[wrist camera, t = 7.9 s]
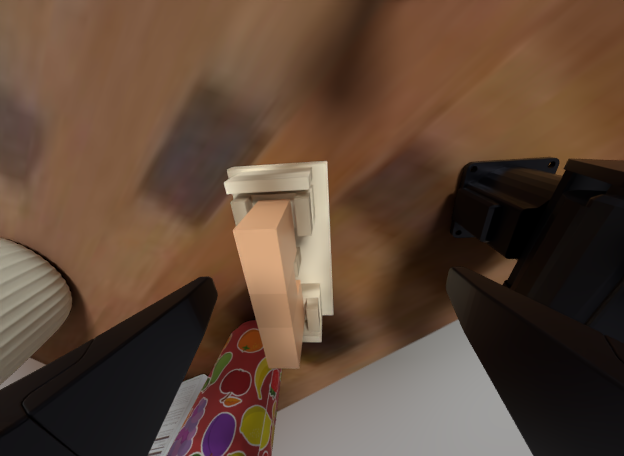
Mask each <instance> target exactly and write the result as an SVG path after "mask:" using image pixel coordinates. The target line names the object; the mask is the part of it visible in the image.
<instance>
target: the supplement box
mask: <svg viewBox="0 0 624 456" xmlns="http://www.w3.org/2000/svg"><path fill="white" fill-rule="evenodd" d="M207 378H208V376H206V375H205V374H202V375H199V376H197V377H194V378H191V379H189V380H186V381H184V382H182V384H181V386H180V388H179V390H178V392H177V394H176V396H175V399H174V401H173V403H172V405H171V407H170V409H169V411H168V414H167V416H166V418H165V420H164V422H163V424H162V426H161V429H160V431H159V433H158V435H157V437H156V439H155V441H154V443H153V446H152V448H151V450H150V452H149V454H148V456H167V454H168V452H169V450H170V448H171V446H172V444H173V442H174V440H175V439H176V437H177V435H178V433H179V431H180V429H181V427H182V425H183V423H184V421H185V420H186V418H187V416H188V414H189V412H190V410H191V408H192V406H193V404H194V403H195V401H196V399H197V397H198V395H199V393H200V391H201V389H202V387H203V386H204V384H205V382H206V380H207Z"/></svg>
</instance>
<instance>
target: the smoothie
mask: <svg viewBox="0 0 624 456" xmlns="http://www.w3.org/2000/svg"><path fill="white" fill-rule="evenodd" d="M281 373H282V368H269V367H268V364H267V360H266V356H265V352H264V348H263V344H262V341H261V337H260V333H259V329H258V325H257V322H256V320H251V321H247V322H244V323H243V324H241V325H240V326H239V328H237V329H236V330H234V331H233V332H232V333H231V335H230V336H229V338H228V340H227V342H226V344H225V346H224V348H223V350H222V352H221V353H220V355H219V357H218V359H217V361H216V363H215V365H214V367H213V369H212V370H211V372H210V374H209V376H208V378H207V380H206V382H205V384H204V386H203V387H202V389H201V391H200V393H199V395H198V397H197V399H196V401H195V403H194V404H193V406H192V408H191V410H190V412H189V414H188V416H187V418H186V420H185V421H184V423H183V425H182V427H181V429H180V431H179V433H178V435H177V437H176V439H175V440H174V442H173V444H172V446H171V448H170V450H169V452H168V454H167V456H271V455H272V447H273V438H274V430H275V421H276V414H277V406H278V397H279V389H280V381H281Z"/></svg>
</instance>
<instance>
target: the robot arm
mask: <svg viewBox="0 0 624 456" xmlns="http://www.w3.org/2000/svg"><path fill="white" fill-rule="evenodd" d="M550 162H551V164H550V165H549V166H548V164H549V163H550ZM473 166H474V170H473V171H470V169H471V168H472V167H473ZM558 166H559V159H557V158H552V157H543V158H527V159H510V160H494V161H478V162H470V163H468V164H467V165H466V166H465V168H464V172H463V176H462V181H461V185H460V189H459V190H458V191H457V196H456V200H455V205H454V209H453V214H452V219H453V221H452V225H451V230H450V233H451V235H452V236H454V237H455V238H465V237H476V238H477V239H478V240H480V241H481V242H486V243H487V244H488V245H490V246H491V247H492V248H494V249H495V250H496V251H497V252H499V253H500V254H501V255H503V256H504V257H505V258H507V259H516V260H517V263H516V265H515V267H514V269H513V271H512V272H511V274H510V276H509V278H508V280H505V281H504V283H503V285H501V284H499V283H497V282H494V281H492V280H490V279H488V278H486V277H484V276H482V275H480V274H478V273H476V272H474V271H472V270H469V269H467V268H465V267H451V268H450V269H449V272H448V277H447V282H446V291H447V294H448V296H449V298H450V301H451V303H452V305H453V308H454V310H455V312H456V315H457V317H458V319H459V321H460V324H461V326H462V328H463V330H464V333H465V334H466V336H467V338H468V340H469V342H470V344H471V345H472V347H473V349H474V351H475V353H476V354H477V356H478V358H479V360H480V362H481V363H482V365H483V367H484V369H485V370H486V372H487V374H488V376H489V377H490V379H491V381H492V383H493V385H494V386H495V388H496V390H497V392H498V394H499V395H500V397H501V399H502V401H503V403H504V404H505V406H506V408H507V410H508V411H509V413H510V415H511V417H512V419H513V420H514V422H515V424H516V425H517V427H518V429H519V431H520V433H521V435H522V436H523V438H524V440H525V442H526V444H527V445H528V447H529V449H530V451H531V452H532V454H533V456H624V161H620V160H593V159H568V161H567V163H566V165H565V167H564V169H565V170H566V171H565V173H564V174H563V176H561V175H556V174H555V173H556V171H557V168H558ZM458 230H459V232H458V233H456V231H458ZM217 296H218V293H217V290H216V287H215V284H214V282H213V279H212V278H211V277H199V278H197V279H196V280H194V281H192V282H190V283H189V284H187V285H185V286H183V287H182V288H180V289H178V290H177V291H175V292H173V293H171V294H170V295H168V296H166V297H164V298H163V299H161V300H159V301H158V302H156V303H154V304H152V305H151V306H149V307H147V308H145V309H144V310H142V311H140V312H138V313H137V314H135V315H133V316H132V317H130V318H128V319H126V320H125V321H123V322H121V323H119V324H118V325H116V326H114V327H113V328H111V329H109V330H107V331H106V332H104V333H102V334H100V335H99V336H97V337H96V338H95V339H92V340H90V341H88V342H86V343H85V344H83V345H81V346H80V347H78V348H76V349H74V350H73V351H71V352H69V353H67V354H65V355H64V356H62V357H60V358H58V359H57V360H55V361H53V362H51V363H49V364H47V365H46V366H44V367H42V368H40V369H38V370H36V371H34V372H33V373H31V374H29V375H27V376H25V377H23V378H22V379H20V380H18V381H16V382H14V383H12V384H10V385H8V386H6V387H4V388H3V389H1V390H0V456H148V454H149V452H150V450H151V448H152V446H153V443H154V441H155V439H156V437H157V435H158V433H159V431H160V429H161V426H162V424H163V422H164V420H165V418H166V416H167V414H168V411H169V409H170V407H171V405H172V403H173V401H174V399H175V396H176V394H177V392H178V390H179V388H180V386H181V384H182V381H183V379H184V377H185V375H186V373H187V371H188V369H189V366H190V364H191V362H192V360H193V358H194V356H195V354H196V351H197V349H198V347H199V345H200V343H201V341H202V338H203V336H204V334H205V331H206V329H207V326H208V323H209V320H210V317H211V314H212V312H213V309H214V306H215V303H216V300H217Z"/></svg>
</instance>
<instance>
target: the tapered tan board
mask: <svg viewBox="0 0 624 456" xmlns="http://www.w3.org/2000/svg"><path fill="white" fill-rule="evenodd" d="M233 234H234V237H235V241H236V245H237V249H238V253H239V256H240V260H241V264H242V268H243V272H244V276H245V279H246V283H247V287H248V291H249V295H250V299H251V302H252V306H253V310H254V314H255V318H256V322H257V325H258V329H259V333H260V337H261V341H262V344H263V348H264V352H265V356H266V360H267V364H268V367H269V368H283V369H299V367H300V358H301V349H302V340H303V331H304V322H305V312H304V304H303V296H302V288H301V280H295V272H294V261H295V257H296V252H297V248H296V240H295V232H294V224H293V216H292V208H291V200H290V199H275V200H258V202H257V203H256V204H255V205H254V206H253V207H252V209H251V210H250V211H249V212H248V213H247V214H246V216H245V217H244V218H243V219H242V220H241V221H240V223H239V224H238V225H237V226H236V227H235V228H234V230H233Z"/></svg>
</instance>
